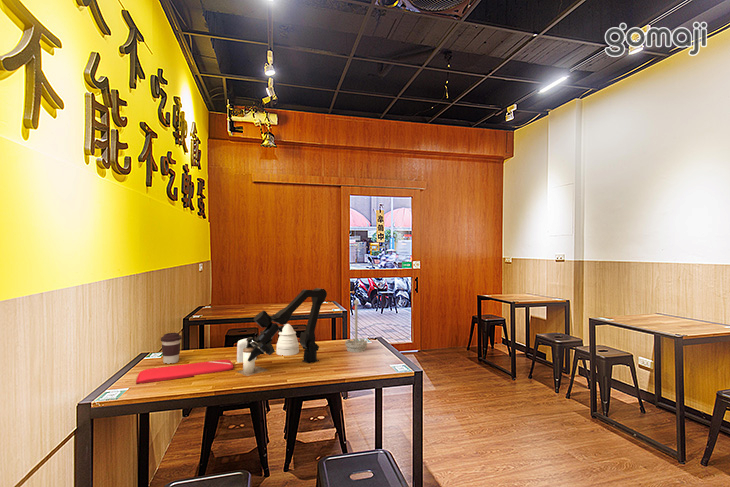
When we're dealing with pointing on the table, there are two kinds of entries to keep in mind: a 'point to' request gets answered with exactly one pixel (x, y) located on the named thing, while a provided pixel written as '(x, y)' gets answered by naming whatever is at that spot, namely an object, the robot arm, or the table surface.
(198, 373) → the dish drying mat
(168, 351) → the coffee cup
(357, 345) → the flag stand
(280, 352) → the honey pot
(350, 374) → the table surface
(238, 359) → the photo printer
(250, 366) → the tumbler
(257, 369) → the board
